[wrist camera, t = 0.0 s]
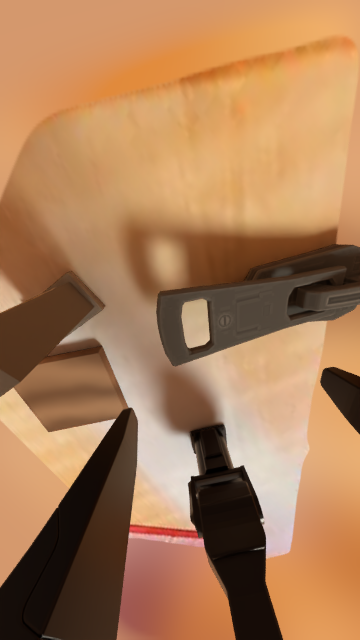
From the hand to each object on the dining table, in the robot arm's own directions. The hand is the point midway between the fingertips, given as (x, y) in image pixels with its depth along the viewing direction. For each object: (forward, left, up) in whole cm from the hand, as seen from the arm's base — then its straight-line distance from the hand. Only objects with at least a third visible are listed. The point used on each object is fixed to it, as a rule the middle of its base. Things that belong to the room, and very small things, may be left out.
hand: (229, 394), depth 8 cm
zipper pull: (-1, -9, -15) cm, 17 cm away
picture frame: (+2, +14, -15) cm, 20 cm away
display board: (-10, +18, -15) cm, 25 cm away
